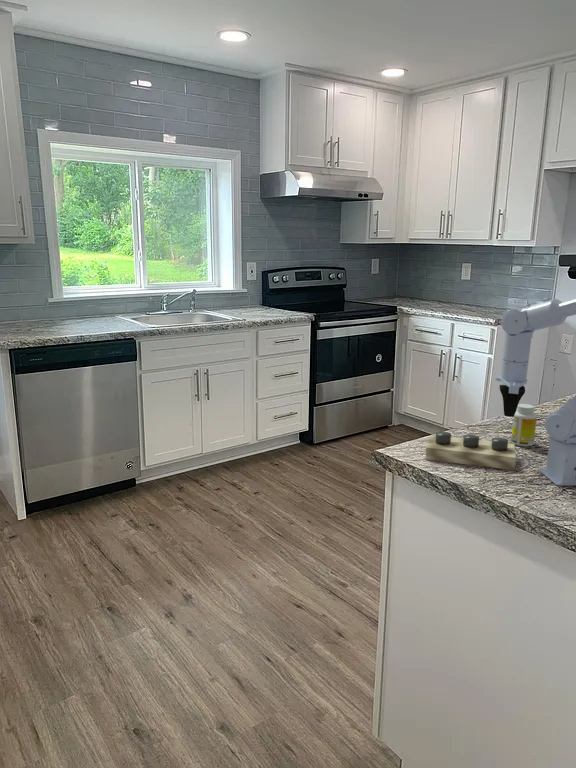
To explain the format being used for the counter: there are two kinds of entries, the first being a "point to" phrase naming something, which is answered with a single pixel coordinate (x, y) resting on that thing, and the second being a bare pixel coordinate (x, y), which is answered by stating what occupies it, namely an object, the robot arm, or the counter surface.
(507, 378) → the robot arm
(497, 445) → the knob near
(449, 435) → the knob far
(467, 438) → the knob middle
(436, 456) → the knob mount
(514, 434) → the supplement bottle
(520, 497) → the counter surface
